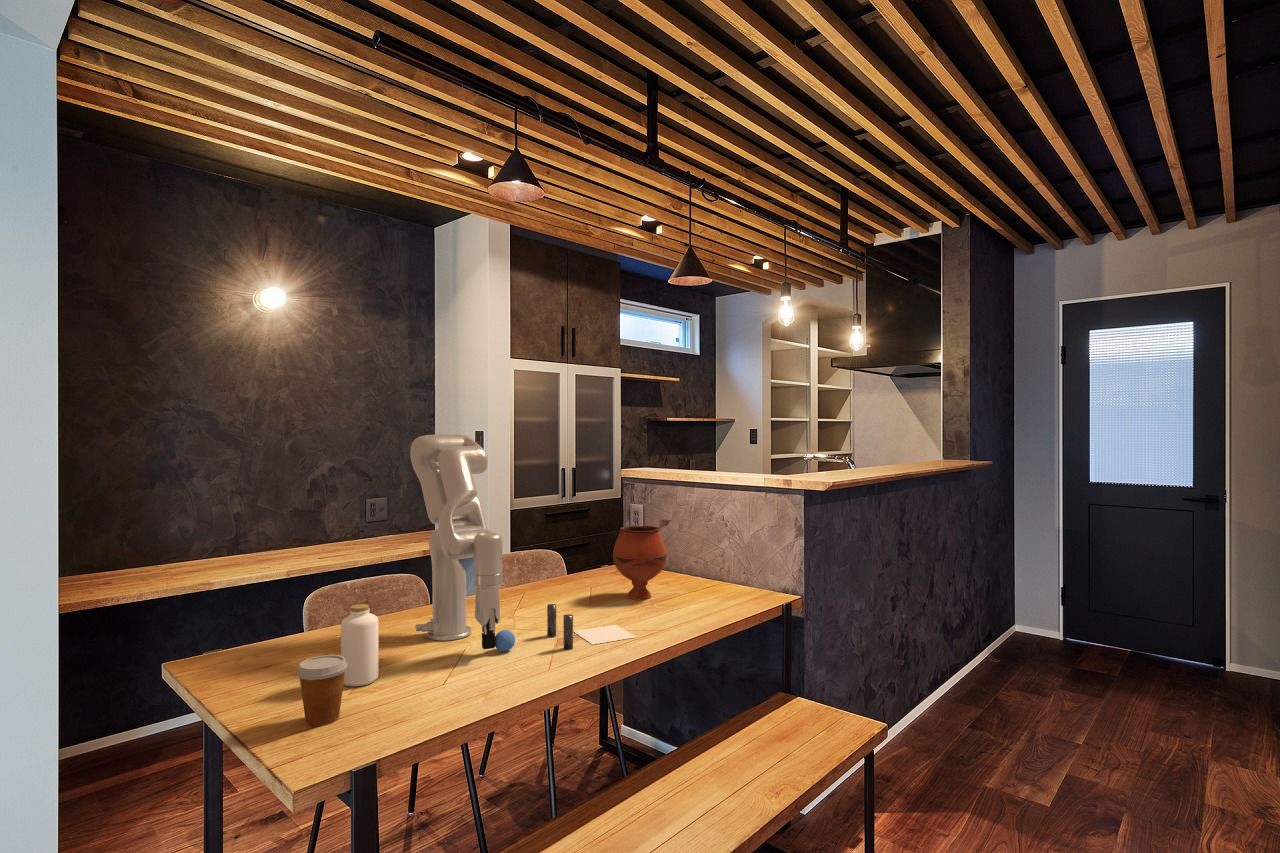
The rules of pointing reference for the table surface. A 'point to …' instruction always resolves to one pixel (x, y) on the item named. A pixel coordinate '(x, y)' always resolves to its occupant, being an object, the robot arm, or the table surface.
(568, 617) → the post
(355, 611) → the potion bottle
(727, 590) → the table surface
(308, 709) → the disposable coffee cup
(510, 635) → the ball
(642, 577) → the goblet
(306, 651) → the table surface
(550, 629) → the post
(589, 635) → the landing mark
